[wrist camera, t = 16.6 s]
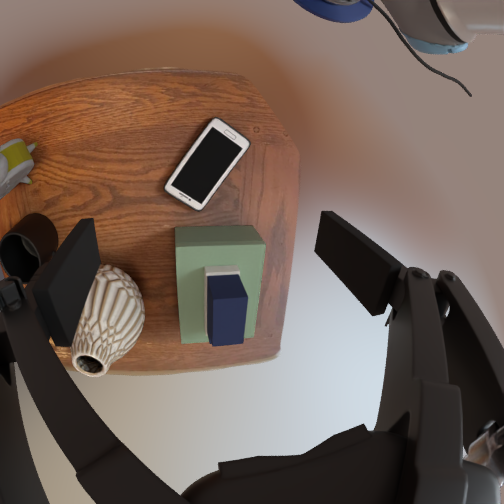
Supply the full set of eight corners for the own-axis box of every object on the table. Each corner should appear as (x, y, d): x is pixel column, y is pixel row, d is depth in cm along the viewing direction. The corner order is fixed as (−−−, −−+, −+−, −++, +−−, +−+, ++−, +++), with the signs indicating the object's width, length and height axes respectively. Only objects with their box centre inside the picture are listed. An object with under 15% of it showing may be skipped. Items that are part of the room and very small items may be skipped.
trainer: (204, 266, 42) (211, 296, 35) (237, 264, 44) (250, 293, 37) (204, 328, 48) (211, 361, 41) (232, 326, 49) (242, 357, 43)
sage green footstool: (252, 225, 50) (266, 244, 43) (243, 312, 59) (253, 337, 52) (174, 226, 46) (175, 247, 39) (179, 316, 55) (181, 343, 48)
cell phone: (251, 142, 43) (253, 142, 42) (199, 212, 46) (200, 213, 45) (214, 114, 39) (215, 114, 38) (161, 188, 42) (161, 190, 42)
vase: (155, 312, 53) (157, 392, 36) (88, 322, 50) (71, 398, 33) (134, 243, 45) (118, 317, 28) (60, 258, 42) (20, 329, 25)
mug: (64, 271, 44) (49, 299, 36) (16, 247, 38) (-4, 270, 30) (76, 230, 41) (59, 253, 33) (25, 204, 36) (1, 223, 28)
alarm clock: (37, 132, 31) (-12, 143, 18) (53, 164, 35) (9, 186, 22) (-2, 172, 31) (-50, 197, 18) (13, 201, 34) (-31, 234, 22)
